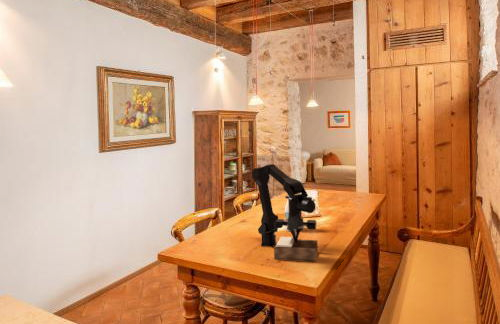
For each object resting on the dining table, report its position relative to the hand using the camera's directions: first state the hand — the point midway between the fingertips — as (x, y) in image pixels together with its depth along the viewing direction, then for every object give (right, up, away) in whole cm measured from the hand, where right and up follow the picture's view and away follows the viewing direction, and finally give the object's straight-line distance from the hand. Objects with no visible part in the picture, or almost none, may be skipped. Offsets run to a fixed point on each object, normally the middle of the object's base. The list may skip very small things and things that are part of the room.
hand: (295, 242), depth 171 cm
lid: (-4, -1, +1) cm, 5 cm away
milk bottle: (+3, -2, +40) cm, 40 cm away
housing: (0, -6, +1) cm, 6 cm away
